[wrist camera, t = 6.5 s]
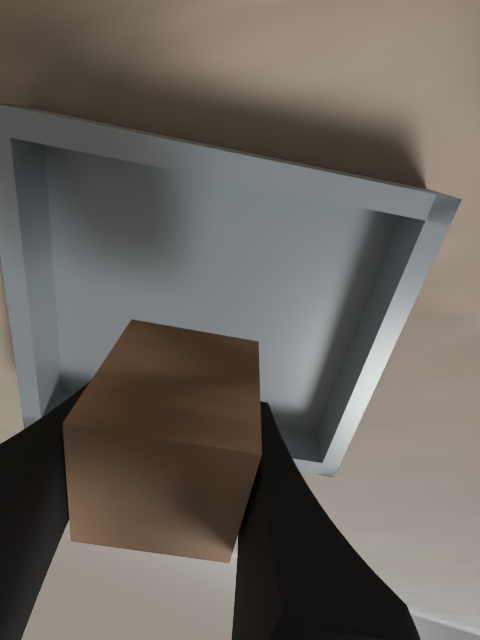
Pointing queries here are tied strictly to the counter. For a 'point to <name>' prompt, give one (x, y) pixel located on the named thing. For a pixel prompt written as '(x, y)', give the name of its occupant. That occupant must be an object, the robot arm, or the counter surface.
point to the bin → (208, 264)
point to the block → (166, 443)
